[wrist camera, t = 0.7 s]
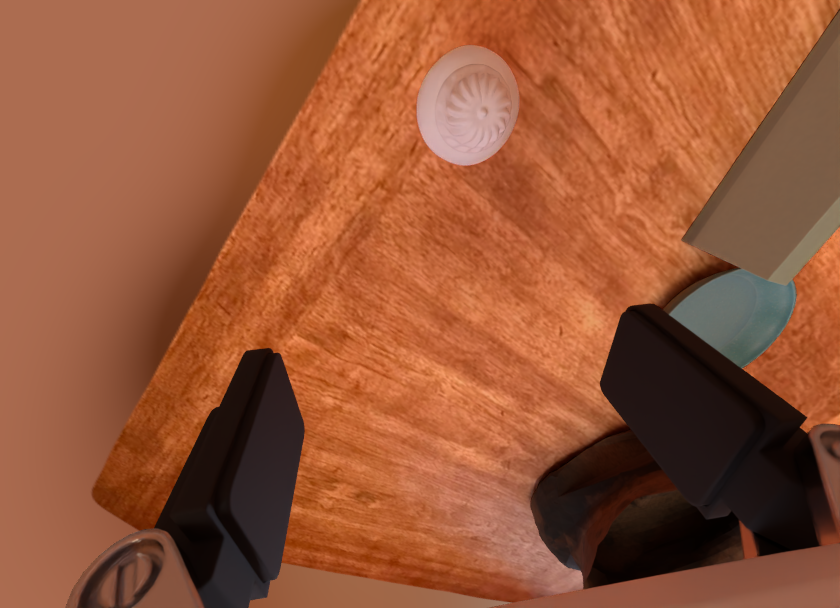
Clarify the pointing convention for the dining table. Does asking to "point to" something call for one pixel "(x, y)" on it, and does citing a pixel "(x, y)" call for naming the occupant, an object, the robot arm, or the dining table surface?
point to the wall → (783, 177)
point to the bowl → (626, 517)
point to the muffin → (467, 105)
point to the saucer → (735, 312)
